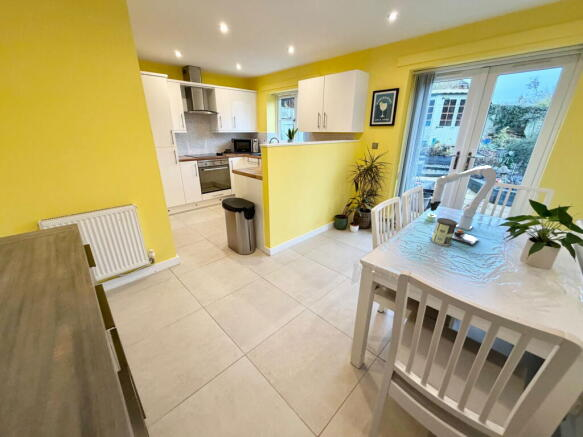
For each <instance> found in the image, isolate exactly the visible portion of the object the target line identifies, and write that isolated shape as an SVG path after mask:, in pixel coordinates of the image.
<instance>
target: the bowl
mask: <svg viewBox="0 0 583 437" xmlns="http://www.w3.org/2000/svg"><path fill="white" fill-rule="evenodd" d="M436 217H437V215H436V214H433V213H427V215H426V221H427V222H429V223H430V222H431V223H434V222H435V220H436Z"/></svg>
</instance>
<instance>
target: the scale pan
mask: <svg viewBox="0 0 583 437" xmlns="http://www.w3.org/2000/svg"><path fill="white" fill-rule="evenodd" d="M461 238H463V239H466V240H470V241H474V240H475V238H476V237H474V236H472V235H468V234H465V235H461Z"/></svg>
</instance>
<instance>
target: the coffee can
mask: <svg viewBox="0 0 583 437" xmlns="http://www.w3.org/2000/svg"><path fill="white" fill-rule="evenodd" d="M456 225H458V222H457V221H455V220H453V219H450V218H445V217H439V218H437V219H436V224H435V226H434V230H433V233H432V237H431V241H432V242H433V243H434V244H437V245H440V246H450V245H451V244H452V241H453V240H452V237H453V235H454V234H455V231H456V228H457V227H456Z"/></svg>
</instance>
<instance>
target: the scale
mask: <svg viewBox="0 0 583 437" xmlns="http://www.w3.org/2000/svg"><path fill="white" fill-rule="evenodd" d="M458 230H459V229H455V231H454V234H453V237H452V240H451V241H454V242H458V243H461V244H464V245H467V246H469V247H473V246H474V245H475V244H476V243H478V241H479V238H476V237H474V238H475V240H474V241H470V240H466V239H463V238H461V235H466V232H465V231H463V232H462V233H459V232H458Z"/></svg>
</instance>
